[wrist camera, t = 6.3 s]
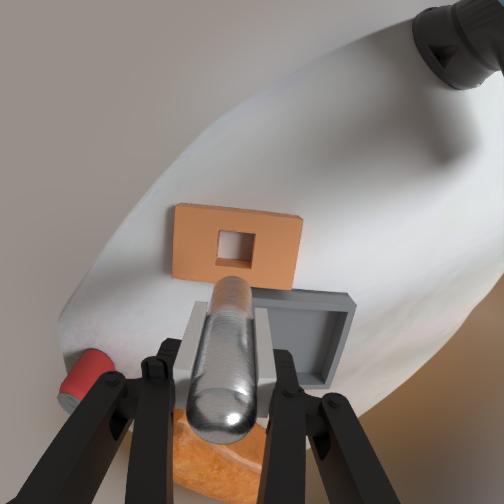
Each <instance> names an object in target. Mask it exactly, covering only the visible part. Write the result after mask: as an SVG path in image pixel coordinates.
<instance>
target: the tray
mask: <svg viewBox="0 0 504 504" xmlns="http://www.w3.org/2000/svg"><path fill="white" fill-rule="evenodd" d="M250 288H251V291H252V309H253V317H254V310H255V307H256V308H267V312H268V319H269V326H270V333H271V341H272V348H273V349H284V350H288V351H289V352H290V353H291V354H292V356H293V361H294V365H295V369H296V374H297V378H298V382H299V386H301V387H302V388H303V389H329V388H330V386H331V383H332V380H333V377H334V375H335V372H336V369H337V366H338V364H339V361H340V358H341V355H342V352H343V349H344V346H345V343H346V340H347V336H348V333H349V330H350V327H351V324H352V320H353V317H354V313H355V310H356V306H357V305H356V304H355V302H354V301H353V300H352V299H351V297H350V296H349V295H348V293H340V292H327V291H314V290H302V289H291V290H280V289H269V288H258V287H250Z"/></svg>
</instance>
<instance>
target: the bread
mask: <svg viewBox="0 0 504 504" xmlns="http://www.w3.org/2000/svg"><path fill="white" fill-rule="evenodd" d="M173 411H174V427H173V481H175V482H176V483H178V484H180V485H182V486H184V487H186V488H188V489H191V490H193V491H196V492H198V493H200V494H202V495H205V496H207V497H210V498H213V499H217V500H219V501H222V502H225V503H229V504H254V503H257V496H258V490H259V483H260V477H261V470H262V463H263V456H264V448H265V441H266V434H265V432H266V429H264V428H263V427H261V426H260V425H258V424H257V423H255V425H254V427H253V429H252V431H251V432H250V433H249V434H248V435H247V436H246V437H245V438H243V439H242V440H240V441H238V442H236V443H233V444H228V445H218V444H213V443H209V442H207V441H205V440H203V439H201V438H200V437H199V436H197V435H196V434H195V433H194V432H193V430H192V429H191V427H190V426H189V424H188V421H187V418H186V410H181V409H175V405H174V409H173Z"/></svg>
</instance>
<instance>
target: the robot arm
mask: <svg viewBox="0 0 504 504" xmlns="http://www.w3.org/2000/svg"><path fill="white" fill-rule="evenodd" d="M413 35H414V39H415V42H416V45H417V47H418V49H419V51H420V53H421V55H422V57H423V58H424V60H425V61H426V63H427V64H428V66H429V67H430V68H431V69H432V70H433V72H434V73H435V74H436V75H437V76H438V77H439V78H440V79H442V80H443V81H444V82H445V83H447V84H448V85H450V86H452V87H454V88H457V89H460V90H468V89H472V88H476V87H478V86H480V85H481V84H482V83H483V82H484V80H485V79H486V78H488V77H489V76H490V75H492V74H493V73H494V72H496V71H500V70H501V72H502V74H503V76H504V0H460V1H459V2H457V3H455V4H453V5H448V6H441V7H431V8H427V9H425V10H423V11H422V12H421V13H419V14H418V15H417V16H416V17H415V19H414V21H413ZM207 306H208V302H200V301H195V304H194V307H193V310H192V313H191V316H190V319H189V322H188V324H187V327H186V330H185V333H184V336H183V339H182V340H179V339H172V338H167V339H166V340H165V341H163V342H162V344H161V346H160V348H159V351H158V353H157V355H156V356H151V357H147V358H145V359H144V360H143V361H142V363H141V369H142V377H141V378H137V379H125V376H124V375H123V374H122V373H120V372H118V371H107V372H105V373H103V374H101V375H100V376H99V378H98V379H97V380H96V382H95V383H94V384H93V386H92V387H91V388H90V390H89V391H88V392H87V394H86V395H85V396H84V398H83V399H82V400H81V402H80V403H79V405H78V406H77V407H76V409H75V410H74V411H73V413H72V414H71V416H70V417H69V418H68V420H67V422H66V423H65V424H64V425H63V427H62V428H61V430H60V431H59V433H58V434H57V435H56V437H55V438H54V440H53V441H52V443H51V444H50V446H49V447H48V449H47V450H46V452H45V453H44V454H43V456H42V457H41V459H40V460H39V462H38V464H37V465H36V466H35V468H34V469H33V471H32V473H31V474H30V476H29V477H28V479H27V480H26V482H25V483H24V485H23V487H22V488H21V490H20V491H19V493H18V495H17V496H16V497H15V498H14V499H12V500H11V501H9V502H8V503H6V504H91V503H92V501H93V499H94V497H95V495H96V493H97V491H98V489H99V486H100V484H101V483H102V480H103V478H104V476H105V474H106V472H107V470H108V468H109V466H110V464H111V462H112V460H113V458H114V456H115V454H116V452H117V450H118V448H119V446H120V444H121V442H122V440H123V438H124V436H125V434H126V432H127V431H128V429H129V427H130V425H131V423H132V421H133V419H135V422H134V428H133V435H132V442H131V449H130V457H129V465H128V473H127V483H126V494H125V504H174V503H173V427H174V411H173V409H174V405H175V409H181V410H186V403H187V399H188V394H189V390H190V386H191V382H192V377H193V373H194V368H195V364H196V360H197V355H198V351H199V347H200V343H201V338H202V334H203V330H204V326H205V322H206V318H207ZM253 333H254V355H255V376H256V395H257V417H262V418H267V417H268V413H269V421H268V425H267V429H266V432H265V434H266V441H265V448H264V456H263V463H262V470H261V477H260V483H259V490H258V496H257V503H256V504H305V471H306V470H305V469H306V468H305V467H306V436H308V439H309V442H310V445H311V448H312V451H313V454H314V457H315V460H316V463H317V466H318V469H319V472H320V475H321V478H322V481H323V484H324V487H325V490H326V493H327V496H328V499H329V502H330V504H400V502H399V500H398V498H397V496H396V494H395V491H394V490H393V488H392V485H391V484H390V481H389V479H388V477H387V475H386V474H385V471H384V470H383V467H382V466H381V464H380V461H379V460H378V458H377V456H376V454H375V452H374V450H373V448H372V446H371V444H370V442H369V440H368V438H367V436H366V434H365V432H364V430H363V428H362V426H361V424H360V422H359V420H358V419H357V417H356V415H355V413H354V411H353V409H352V407H351V405H350V403H349V401H348V400H347V398H346V397H345V396H343V395H341V394H339V393H327V394H325V395H324V396H323V397H322V398H319V397H314V396H311V395H308V394H306V393H305V392H304V389H303V388H302V387H301V386H299V382H298V378H297V374H296V369H295V365H294V361H293V356H292V354H291V353H290V352H289V351H288V350H284V349H273V348H272V341H271V333H270V326H269V319H268V312H267V308H256V307H255V310H254V317H253Z"/></svg>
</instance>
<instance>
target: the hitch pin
mask: <svg viewBox="0 0 504 504" xmlns="http://www.w3.org/2000/svg"><path fill="white" fill-rule="evenodd" d="M186 418H187V421H188V424H189V426H190V427H191V429H192V430H193V432H194V433H195V434H196V435H197V436H199V437H200V438H201V439H203V440H205V441H207V442H209V443H213V444H218V445H228V444H233V443H236V442H238V441H240V440H242V439H243V438H245V437H246V436H247V435H248V434H249V433H250V432H251V431H252V429H253V427H254V425H255V423H256V420H257V395H256V376H255V355H254V333H253V309H252V291H251V288H250V286H249V284H248V283H247V282H246V281H245V280H244V279H242V278H240V277H237V276H226V277H224V278H222V279H220V280H219V281H218V282H217V283H216V284H215V286H214V289H213V293H212V297H211V301H210V305H209V309H208V313H207V318H206V322H205V326H204V330H203V334H202V338H201V343H200V347H199V351H198V355H197V360H196V364H195V368H194V373H193V377H192V382H191V386H190V390H189V394H188V399H187V403H186Z"/></svg>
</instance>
